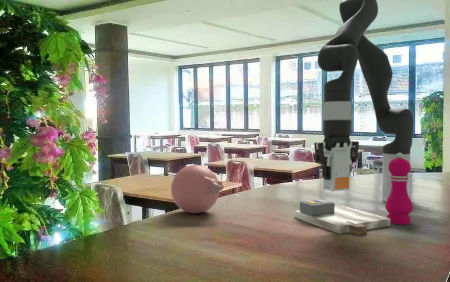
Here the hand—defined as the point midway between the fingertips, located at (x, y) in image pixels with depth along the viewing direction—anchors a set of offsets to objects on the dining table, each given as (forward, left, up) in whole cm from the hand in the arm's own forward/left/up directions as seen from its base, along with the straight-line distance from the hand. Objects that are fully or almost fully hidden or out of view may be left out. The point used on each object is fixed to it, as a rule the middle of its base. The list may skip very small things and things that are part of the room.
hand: (336, 178), depth 117 cm
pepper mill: (-19, +5, -13) cm, 23 cm away
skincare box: (0, 0, -3) cm, 3 cm away
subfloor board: (-4, -1, -13) cm, 14 cm away
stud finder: (+1, -8, -11) cm, 14 cm away
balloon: (+29, -30, -13) cm, 44 cm away
